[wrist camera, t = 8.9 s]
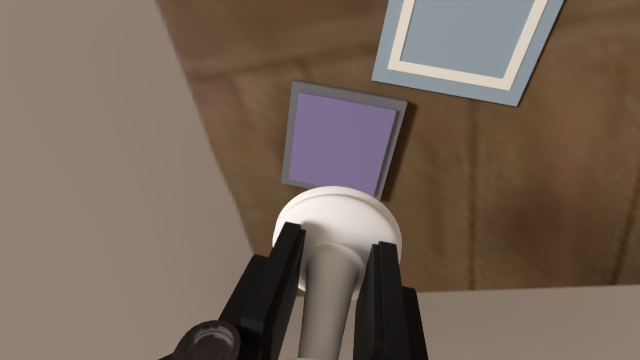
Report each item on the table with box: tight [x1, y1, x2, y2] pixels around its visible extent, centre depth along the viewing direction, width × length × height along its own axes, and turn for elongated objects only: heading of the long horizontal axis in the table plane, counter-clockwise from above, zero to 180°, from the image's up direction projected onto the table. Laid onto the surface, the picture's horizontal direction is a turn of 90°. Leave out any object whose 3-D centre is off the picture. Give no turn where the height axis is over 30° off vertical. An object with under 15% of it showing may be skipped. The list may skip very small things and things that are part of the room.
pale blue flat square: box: [371, 0, 564, 106], centre depth 21 cm, size 11×11×1 cm
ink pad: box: [281, 79, 408, 202], centre depth 25 cm, size 9×9×1 cm
